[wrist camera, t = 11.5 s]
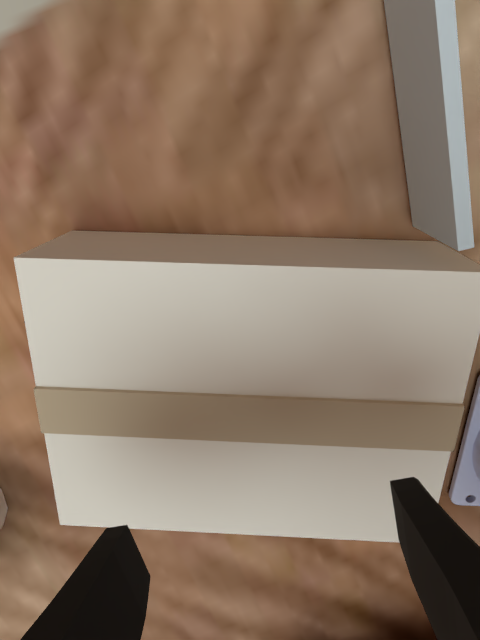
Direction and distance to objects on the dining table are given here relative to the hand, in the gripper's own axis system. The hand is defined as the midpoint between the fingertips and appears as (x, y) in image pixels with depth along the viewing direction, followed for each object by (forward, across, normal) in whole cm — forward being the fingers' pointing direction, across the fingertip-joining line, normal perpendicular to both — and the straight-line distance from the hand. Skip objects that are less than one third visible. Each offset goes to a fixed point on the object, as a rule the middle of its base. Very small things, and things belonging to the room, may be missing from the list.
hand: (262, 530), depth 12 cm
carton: (+10, 0, 0) cm, 10 cm away
